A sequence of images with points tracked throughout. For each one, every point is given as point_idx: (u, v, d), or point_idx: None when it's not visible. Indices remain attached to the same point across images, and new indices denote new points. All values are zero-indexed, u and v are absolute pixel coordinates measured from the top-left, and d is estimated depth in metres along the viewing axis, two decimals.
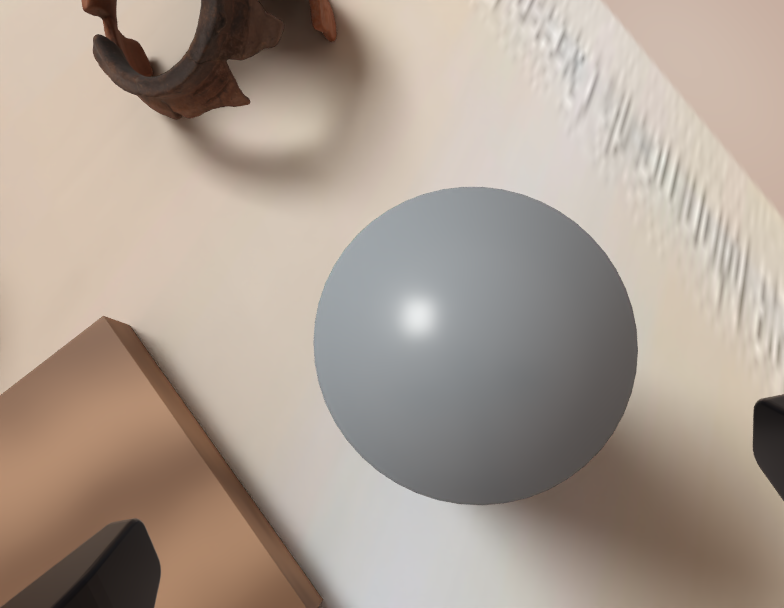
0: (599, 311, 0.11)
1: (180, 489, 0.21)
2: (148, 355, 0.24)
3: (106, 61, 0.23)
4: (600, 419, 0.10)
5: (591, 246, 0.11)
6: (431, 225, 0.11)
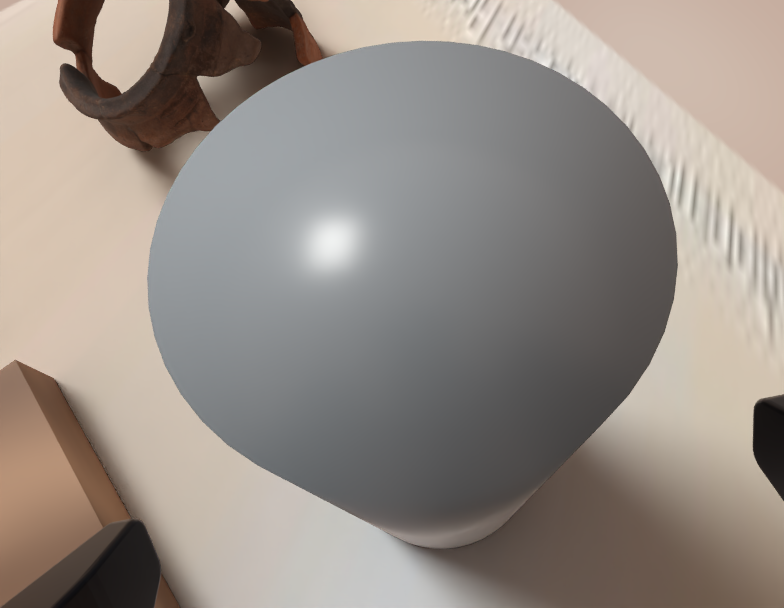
0: (605, 182, 0.06)
1: None
2: (69, 412, 0.20)
3: (71, 88, 0.21)
4: (623, 344, 0.06)
5: (584, 99, 0.07)
6: (344, 89, 0.08)
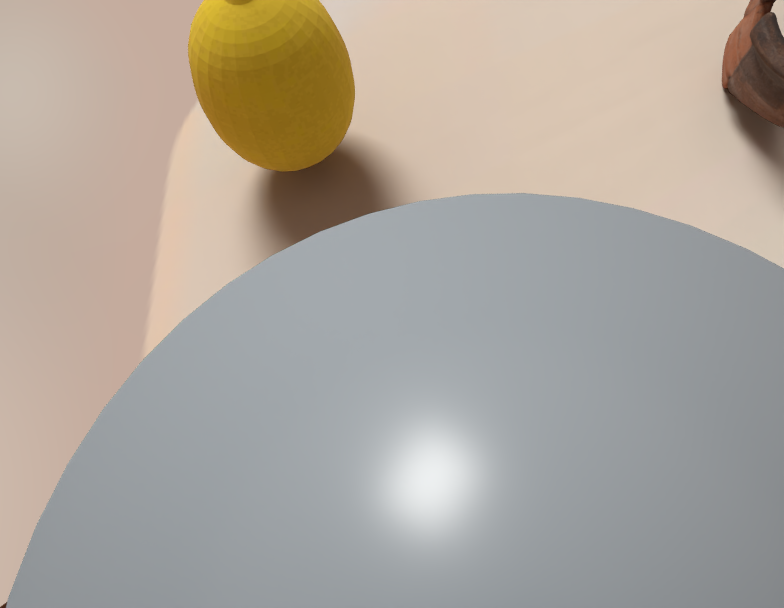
0: None
1: None
2: None
3: (778, 43, 0.19)
4: None
5: None
6: (386, 292, 0.04)
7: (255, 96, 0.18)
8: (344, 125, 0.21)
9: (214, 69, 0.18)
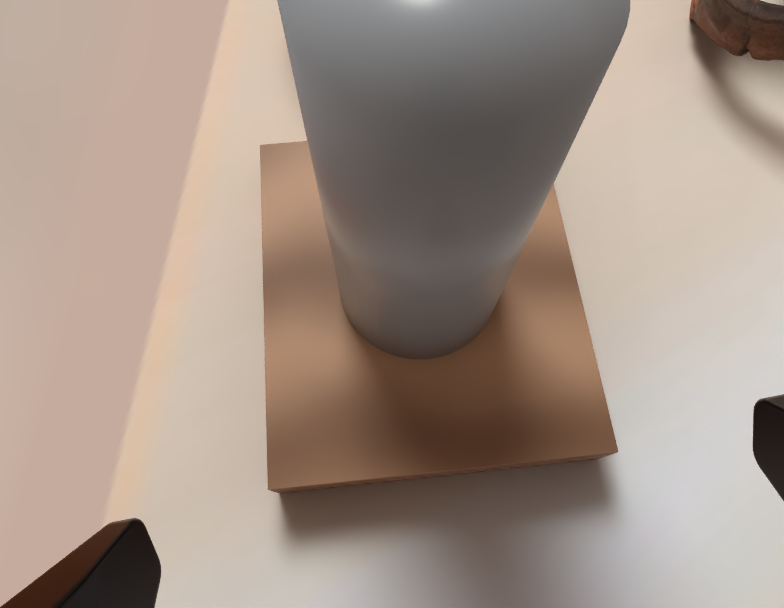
0: None
1: (543, 283, 0.22)
2: None
3: None
4: (583, 61, 0.09)
5: None
6: None
7: None
8: None
9: None
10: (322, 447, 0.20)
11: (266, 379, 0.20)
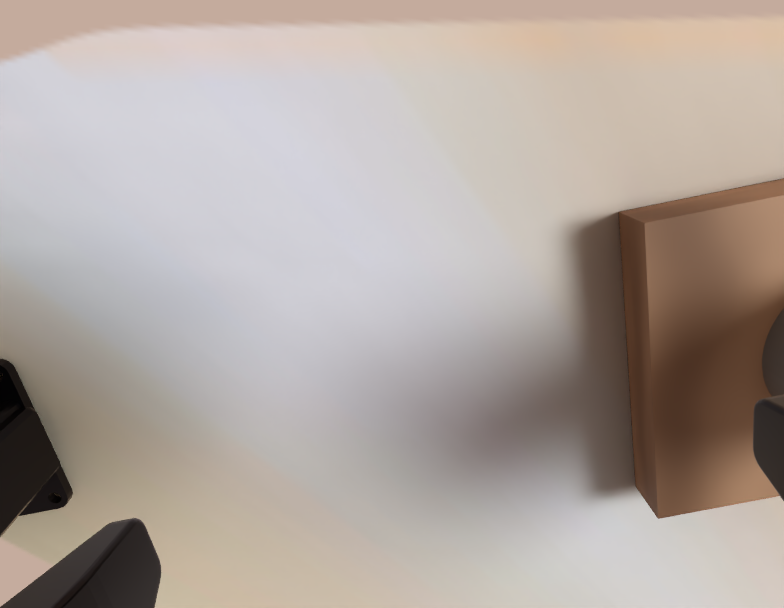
0: None
1: None
2: None
3: None
4: None
5: None
6: None
7: None
8: None
9: None
10: (682, 271, 0.19)
11: (761, 201, 0.18)
